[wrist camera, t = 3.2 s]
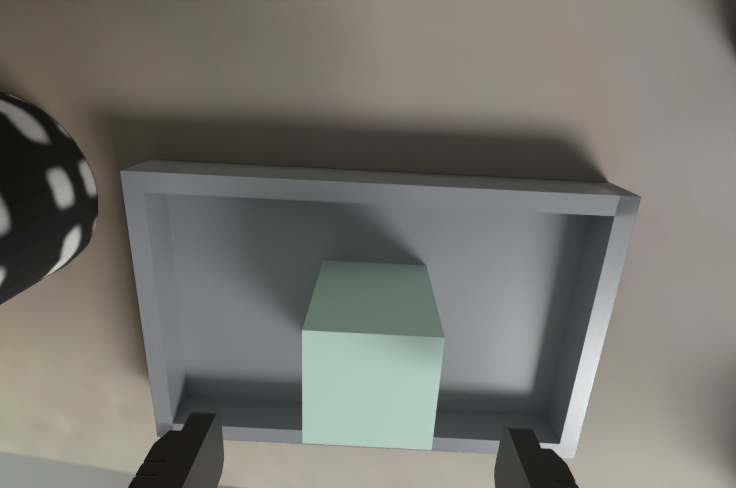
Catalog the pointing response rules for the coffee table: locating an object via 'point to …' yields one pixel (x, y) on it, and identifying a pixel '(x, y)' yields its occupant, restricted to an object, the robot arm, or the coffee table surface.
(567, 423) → the gray tray
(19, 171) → the white-spotted black cylinder
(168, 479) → the robot arm
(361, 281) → the sage block
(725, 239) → the coffee table surface
